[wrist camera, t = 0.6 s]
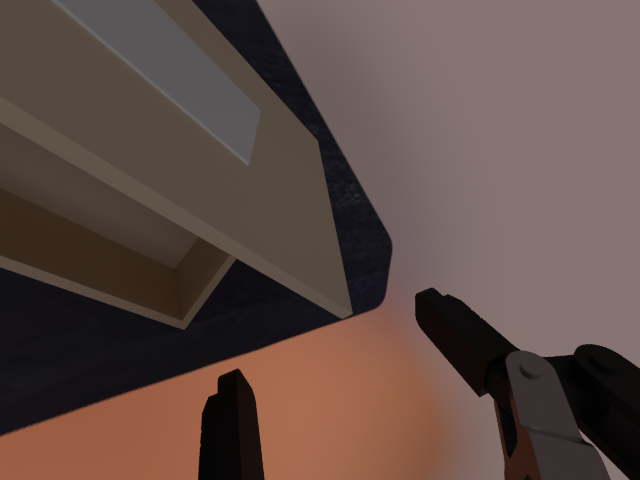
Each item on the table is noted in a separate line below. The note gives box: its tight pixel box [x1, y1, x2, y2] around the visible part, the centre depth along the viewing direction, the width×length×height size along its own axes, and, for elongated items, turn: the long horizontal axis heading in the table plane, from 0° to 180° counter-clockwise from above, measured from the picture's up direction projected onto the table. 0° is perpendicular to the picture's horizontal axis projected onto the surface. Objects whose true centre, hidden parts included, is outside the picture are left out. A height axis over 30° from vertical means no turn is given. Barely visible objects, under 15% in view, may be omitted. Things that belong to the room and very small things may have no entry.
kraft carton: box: [0, 123, 236, 330], centre depth 21 cm, size 18×20×12 cm
